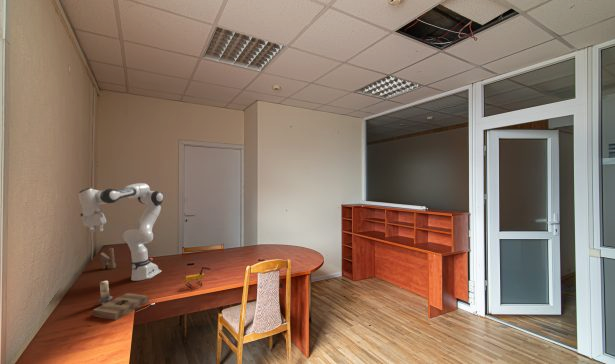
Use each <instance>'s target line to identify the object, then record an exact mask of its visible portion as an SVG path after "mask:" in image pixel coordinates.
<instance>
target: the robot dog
mask: <svg viewBox="0 0 615 364" xmlns="http://www.w3.org/2000/svg"><path fill="white" fill-rule="evenodd" d="M203 270H208V271H209V270H211V268H210V267H205V266H202V267H201V270H200V272H199V273H197V274H191V275H186V276H185V280H184V284H183V285H184V286H186V287H187V288H190V289H192V286H193V285H192V284H190V283H189V282H190V281H193V280H195V282H194V283H195V284H197V285H198V286H200V287H202V286H203V283H202V282H201V281H200V280H201V279H204V277H205V273H203Z"/></svg>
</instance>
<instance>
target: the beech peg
mask: <svg viewBox="0 0 615 364" xmlns="http://www.w3.org/2000/svg"><path fill="white" fill-rule="evenodd" d="M99 290H100V298H98V299H97V302H98V303H101V306H102V305H104V304H106V303H108V302H110V301H112V300H113V297H114V296H112V295H110V288H109V281H108V280H104V281H100V282H99Z"/></svg>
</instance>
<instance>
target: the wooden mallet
mask: <svg viewBox="0 0 615 364" xmlns="http://www.w3.org/2000/svg"><path fill="white" fill-rule="evenodd" d="M114 252H115V250H114V247H110V248H108V255H107V254H106V253H105V252H100V264H101V265H100V266H101V270H107V269H108V270H109V269H110V270H111V269H115V268H117V264H116V263H115V261H116V260H115V253H114Z"/></svg>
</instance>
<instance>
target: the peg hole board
mask: <svg viewBox="0 0 615 364" xmlns="http://www.w3.org/2000/svg"><path fill="white" fill-rule="evenodd" d="M149 302H150V301H149V296H148V295H144V294H138V293H131V292H127V293H124V294H123V295H120V296H118V297H116V298H114V299H111V300H110V302H108V303H106V304H104V305H102V304H101V305H99V306H98V307H96V308H94V309H92V312H93V313H92V315H93V317H96V318H100V319H101V318H102V319H106V320H107V319H108V320H112V321H117V320H119V319H120V318H122V317H124V316H126V315H127V314H130V313H131V312H133V311H135V310H137V309H138V308H141V307H142V306H144V305H146V304H147V303H149Z"/></svg>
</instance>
